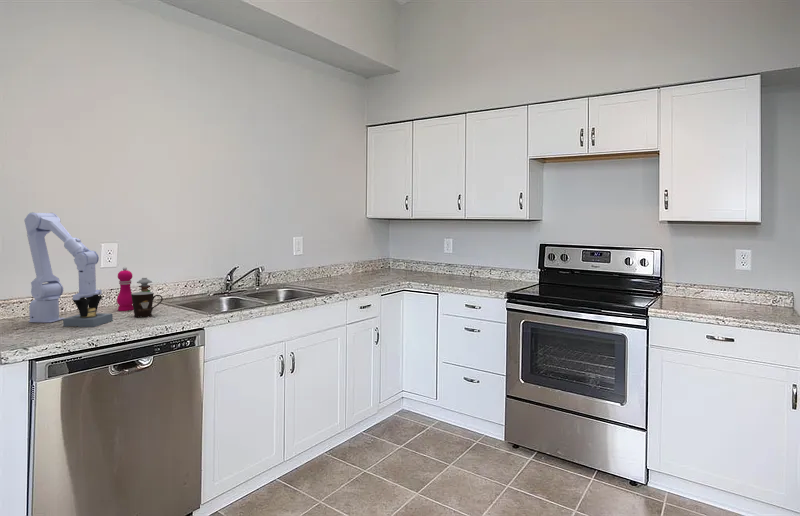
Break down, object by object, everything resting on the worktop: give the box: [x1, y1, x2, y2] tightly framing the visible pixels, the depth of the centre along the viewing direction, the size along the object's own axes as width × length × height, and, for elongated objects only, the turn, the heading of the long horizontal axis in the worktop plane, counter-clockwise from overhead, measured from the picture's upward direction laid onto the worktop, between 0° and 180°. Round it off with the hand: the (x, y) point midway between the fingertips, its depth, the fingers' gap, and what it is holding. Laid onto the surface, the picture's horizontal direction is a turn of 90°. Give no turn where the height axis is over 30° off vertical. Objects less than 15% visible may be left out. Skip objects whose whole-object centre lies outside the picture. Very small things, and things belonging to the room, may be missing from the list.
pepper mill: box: [116, 266, 134, 312], centre depth 224 cm, size 7×7×20 cm
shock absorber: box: [136, 277, 153, 292], centre depth 224 cm, size 6×6×15 cm
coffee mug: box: [131, 291, 164, 318], centre depth 211 cm, size 12×9×10 cm
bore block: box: [62, 312, 114, 328], centre depth 194 cm, size 12×12×3 cm
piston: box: [82, 306, 97, 318], centre depth 194 cm, size 5×5×6 cm
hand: (88, 315), depth 194 cm, fingers closed on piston, 5 cm apart
